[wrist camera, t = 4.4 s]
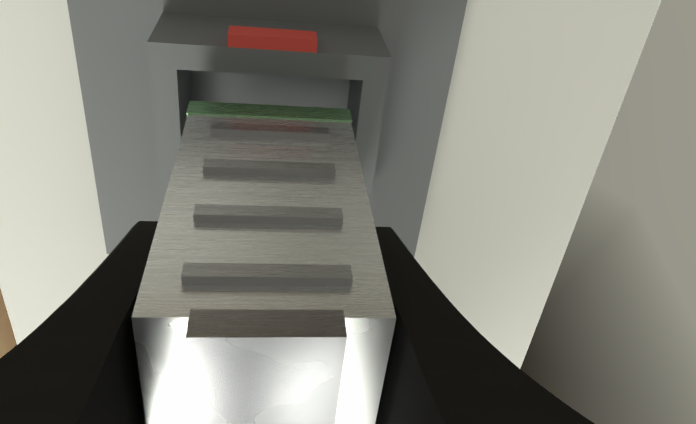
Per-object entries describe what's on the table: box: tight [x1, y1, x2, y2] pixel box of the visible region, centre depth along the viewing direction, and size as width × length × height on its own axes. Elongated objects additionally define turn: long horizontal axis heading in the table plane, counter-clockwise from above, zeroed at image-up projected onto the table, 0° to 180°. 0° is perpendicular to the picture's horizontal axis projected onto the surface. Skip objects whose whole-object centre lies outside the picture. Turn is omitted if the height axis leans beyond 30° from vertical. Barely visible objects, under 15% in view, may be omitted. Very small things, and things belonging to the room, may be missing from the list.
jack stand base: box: [0, 0, 661, 369], centre depth 17 cm, size 26×20×4 cm
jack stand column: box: [131, 101, 396, 424], centre depth 12 cm, size 4×4×7 cm
